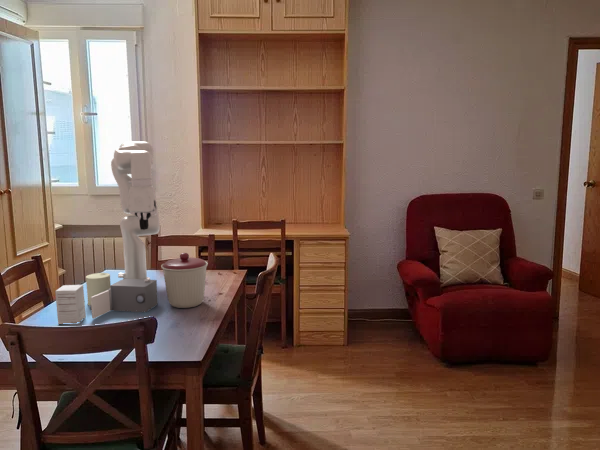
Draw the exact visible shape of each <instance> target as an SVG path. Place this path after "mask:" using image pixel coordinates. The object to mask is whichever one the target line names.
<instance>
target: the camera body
mask: <svg viewBox="0 0 600 450" xmlns="http://www.w3.org/2000/svg"><path fill="white" fill-rule="evenodd" d="M157 281H158V280H157V279H151V278H150V279H145V280H143V279H123V278H121V280H119V281H117V282H115V283H113V284H112V283H111V285H110V286H111V296H112V310H114V311H113V312H115V311H116V312H130V311H131V313H132V312H133V313H147V312H149V311H150V310H151V309H153V308H155V307H156V306H157V305H158V304H159V301H158V300H159V299H158V282H157Z"/></svg>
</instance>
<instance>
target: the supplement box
mask: <svg viewBox="0 0 600 450" xmlns="http://www.w3.org/2000/svg"><path fill="white" fill-rule="evenodd" d="M54 292H55V301H56V304H55V305H56V315H57V324H63V323H77V322H80V321H81V320H82V319H83V318H84V319H86V317H87V316H86V305H85V304H86V303H85V293H84V292H85V291H84V285H83V284H65V285H64V284H63V285H62V286H61V287H59V288H57V289H56V290H55V291H54ZM84 319H83V320H84ZM83 320H82V321H83ZM82 321H81V322H82ZM81 322H80V323H81Z"/></svg>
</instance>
